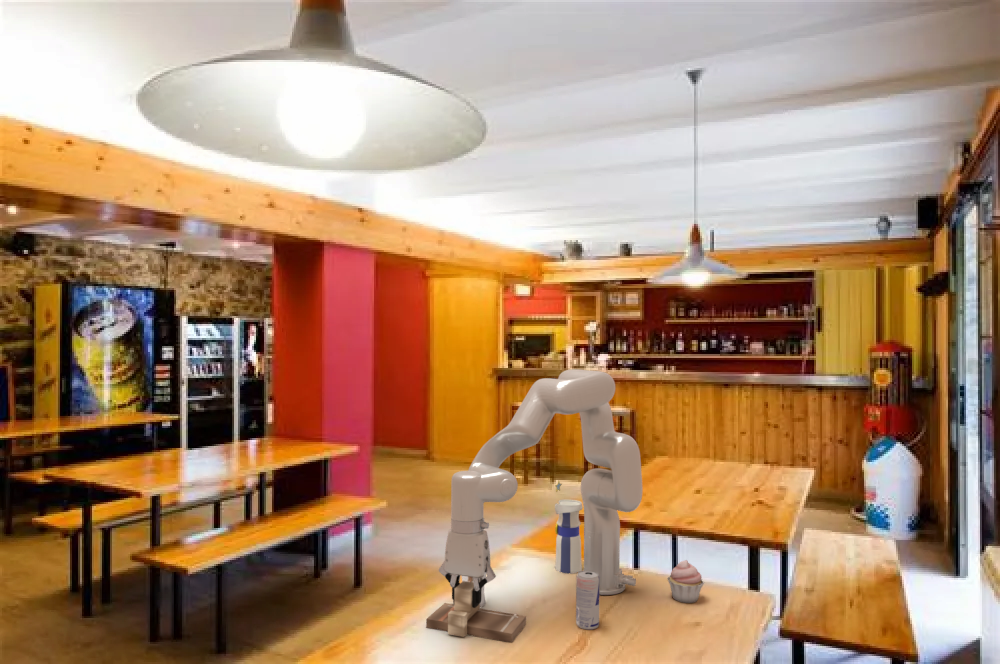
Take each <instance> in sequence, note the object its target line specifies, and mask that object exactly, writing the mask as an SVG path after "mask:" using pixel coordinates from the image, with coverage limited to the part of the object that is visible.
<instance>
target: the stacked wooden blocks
mask: <svg viewBox="0 0 1000 664" xmlns="http://www.w3.org/2000/svg"><path fill="white" fill-rule="evenodd" d="M473 590H474V583H473V582H466V581H463V582H460V584H459V585H458V586H457V587H456V588H455V590H454V610H456V611H450V612H449V613H448V631H447V635H451V636H456V637H460V638H461V637H462V638H465V637H466V636H468V635H467V621H468V620H469V619H470V618H471V617H472V616H473V615H474V614H475V613H476V612H477V611H478V610H479V609H481V608H480V604H479V605H478V606H477V607H476V608H473V607H472V591H473Z"/></svg>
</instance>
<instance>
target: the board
mask: <svg viewBox="0 0 1000 664" xmlns="http://www.w3.org/2000/svg"><path fill="white" fill-rule="evenodd" d="M450 611H456V610H454V605H453V603H450V602H449V603H448V602H444V603H443V604H442V605H440V606H439V607H438V608H437V609H436V610H435V611H433V612H432V613H431V614H430V615H429V616H427V618H425V619H426V620H425V621H426V625H425V627H426V628H427V629H432V630H439V631H444V632H448V613H449V612H450ZM526 626H527V615H522V614H517V613H509V612H503V611H497V610H492V609H485V608H480V609H479V610H478V611H477V612H476V613H475V614H474V615H473V616H472V617H471V618H470V619H469V620H468V621H467V634H468V635H467V636H471V635H473V636H472V637H478V638H484V639H489V640H494V641H498V642H499V641H500V642H506V643H513V642H514V641H515V640H516V638H517V637H518V636H519V634H520V633H521V632H522V631H523V629H524V628H525V627H526Z"/></svg>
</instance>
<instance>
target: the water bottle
mask: <svg viewBox="0 0 1000 664" xmlns="http://www.w3.org/2000/svg"><path fill="white" fill-rule="evenodd" d="M562 485H563V483H560V480H558V481H557V484H555V485H554V486H555V488H556V489H555V492H556V493H557V492H558V491H561V486H562ZM557 502H558V503H555V504H554V510H555V514H556V515H558V519H557V520H556V523H555V527H554V530H555V531H554V532H555V534H556V540H555V541H556V542H555V544H556V545H555V566H554V567H555V568H554V569H555V570H556V572H558V571H559V572H558V573H561V572H562V574H569V573H570V574H572V575H573V574H577V572H579V571H583V565H582V540H581V539H582V537H581V535H580V526H581V524H582V522H581V521H580V518H579V516H580V511H582V510H584V506H583V502H582V501H580V500H575V499H559V500H558V501H557Z"/></svg>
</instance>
